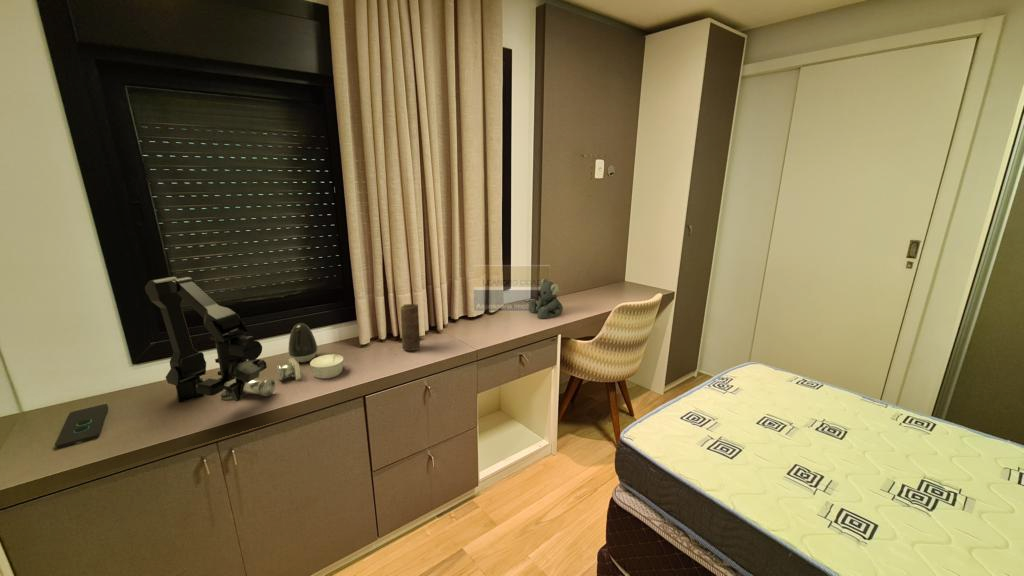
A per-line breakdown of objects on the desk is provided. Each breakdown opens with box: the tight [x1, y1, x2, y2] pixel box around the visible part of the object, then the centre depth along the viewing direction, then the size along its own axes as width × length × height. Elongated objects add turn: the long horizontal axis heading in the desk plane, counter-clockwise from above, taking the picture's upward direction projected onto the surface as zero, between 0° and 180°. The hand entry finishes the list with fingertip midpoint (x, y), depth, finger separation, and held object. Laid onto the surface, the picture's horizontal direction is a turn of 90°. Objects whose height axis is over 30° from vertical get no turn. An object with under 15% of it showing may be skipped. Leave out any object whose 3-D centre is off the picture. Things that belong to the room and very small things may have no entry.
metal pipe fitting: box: [220, 357, 302, 401], centre depth 134 cm, size 23×8×6 cm, turn 134°
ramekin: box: [309, 353, 345, 380], centre depth 144 cm, size 11×11×5 cm
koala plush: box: [528, 277, 564, 320], centre depth 216 cm, size 17×18×20 cm
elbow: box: [224, 378, 276, 397], centre depth 128 cm, size 15×5×6 cm, turn 84°
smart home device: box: [54, 403, 109, 450], centre depth 111 cm, size 8×2×20 cm
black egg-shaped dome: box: [287, 323, 318, 363], centre depth 153 cm, size 10×10×15 cm
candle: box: [400, 303, 421, 351], centre depth 165 cm, size 8×7×20 cm
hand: (238, 400), depth 120 cm, fingers closed
